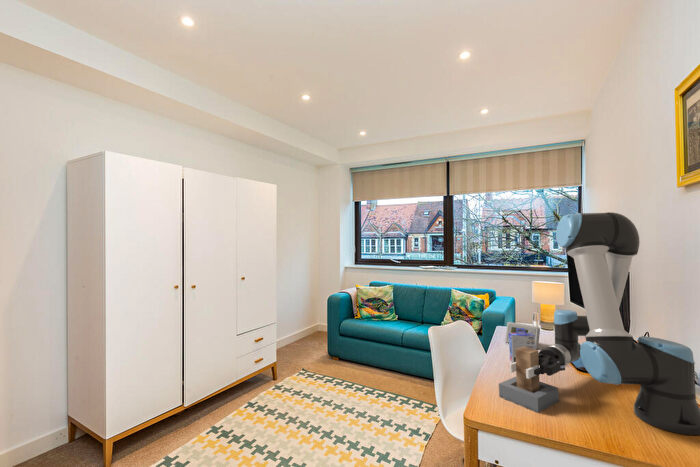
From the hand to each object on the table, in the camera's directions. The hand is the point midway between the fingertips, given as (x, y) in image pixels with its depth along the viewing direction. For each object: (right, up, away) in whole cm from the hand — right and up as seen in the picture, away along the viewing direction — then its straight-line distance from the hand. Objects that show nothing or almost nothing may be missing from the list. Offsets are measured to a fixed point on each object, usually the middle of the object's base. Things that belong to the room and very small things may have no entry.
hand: (518, 371), depth 107 cm
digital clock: (+33, -12, +59) cm, 69 cm away
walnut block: (+5, -8, +3) cm, 10 cm away
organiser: (+5, -11, +2) cm, 12 cm away
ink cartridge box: (+21, -12, +37) cm, 44 cm away
